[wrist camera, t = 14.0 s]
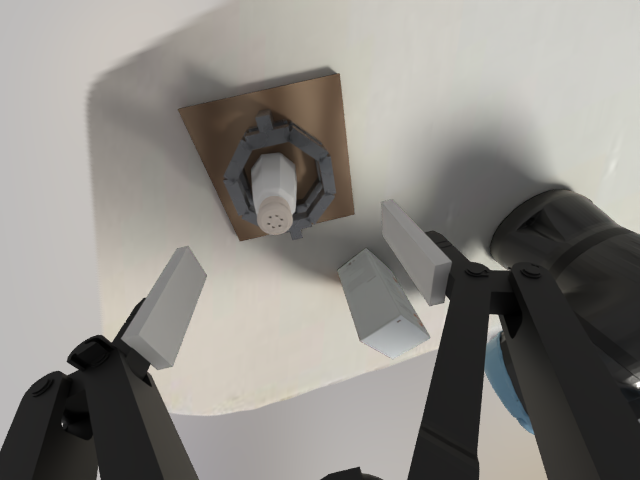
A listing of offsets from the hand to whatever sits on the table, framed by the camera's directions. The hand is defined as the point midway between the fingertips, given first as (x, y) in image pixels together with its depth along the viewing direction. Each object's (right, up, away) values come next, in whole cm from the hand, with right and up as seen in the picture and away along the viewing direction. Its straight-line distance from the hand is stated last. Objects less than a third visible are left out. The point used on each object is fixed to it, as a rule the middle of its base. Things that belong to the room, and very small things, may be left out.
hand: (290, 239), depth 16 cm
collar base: (-3, +9, +12) cm, 15 cm away
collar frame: (-3, +9, +12) cm, 15 cm away
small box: (+10, -5, +24) cm, 26 cm away
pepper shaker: (-3, +8, +12) cm, 14 cm away
